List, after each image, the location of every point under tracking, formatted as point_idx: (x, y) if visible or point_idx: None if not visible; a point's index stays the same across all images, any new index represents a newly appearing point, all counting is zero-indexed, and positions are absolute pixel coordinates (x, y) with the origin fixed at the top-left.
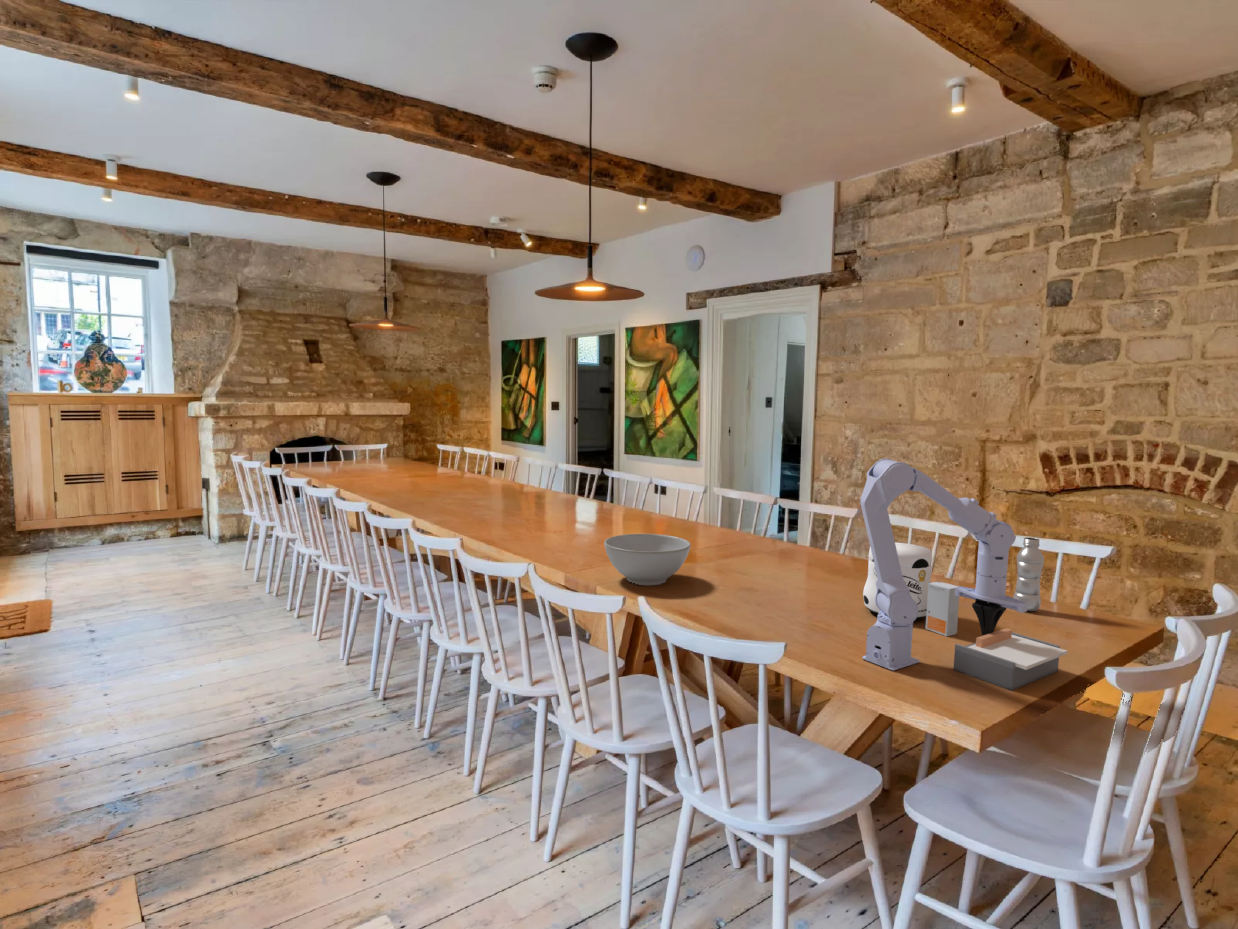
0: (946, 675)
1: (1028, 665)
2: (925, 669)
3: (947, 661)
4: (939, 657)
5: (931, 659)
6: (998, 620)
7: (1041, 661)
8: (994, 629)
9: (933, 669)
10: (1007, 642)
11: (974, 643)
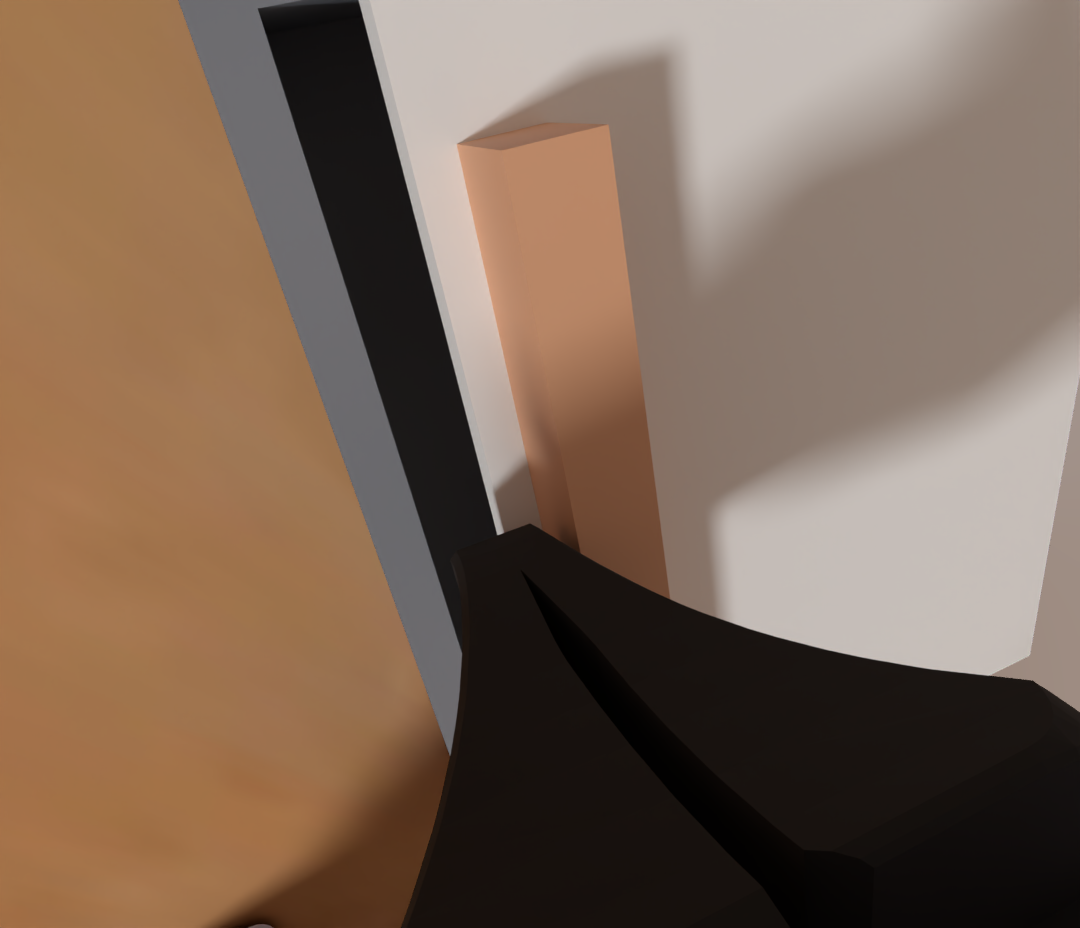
0: None
1: (1033, 631)
2: (387, 911)
3: (281, 716)
4: (171, 735)
5: (208, 813)
6: (712, 618)
7: (1059, 446)
8: (583, 556)
9: (402, 868)
10: (659, 374)
11: (427, 665)
